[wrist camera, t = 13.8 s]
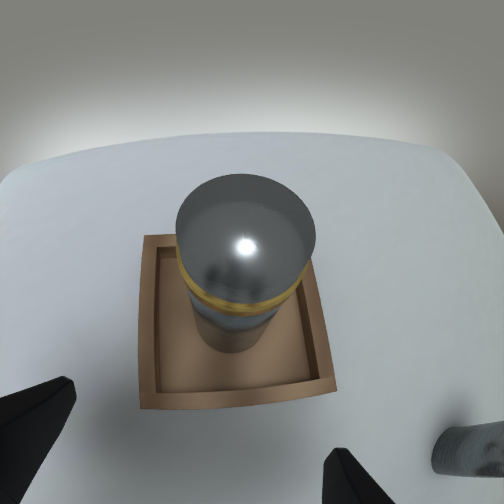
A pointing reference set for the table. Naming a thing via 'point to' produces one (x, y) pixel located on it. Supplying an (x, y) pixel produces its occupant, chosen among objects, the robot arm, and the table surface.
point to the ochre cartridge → (241, 255)
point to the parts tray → (217, 363)
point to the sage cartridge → (471, 451)
